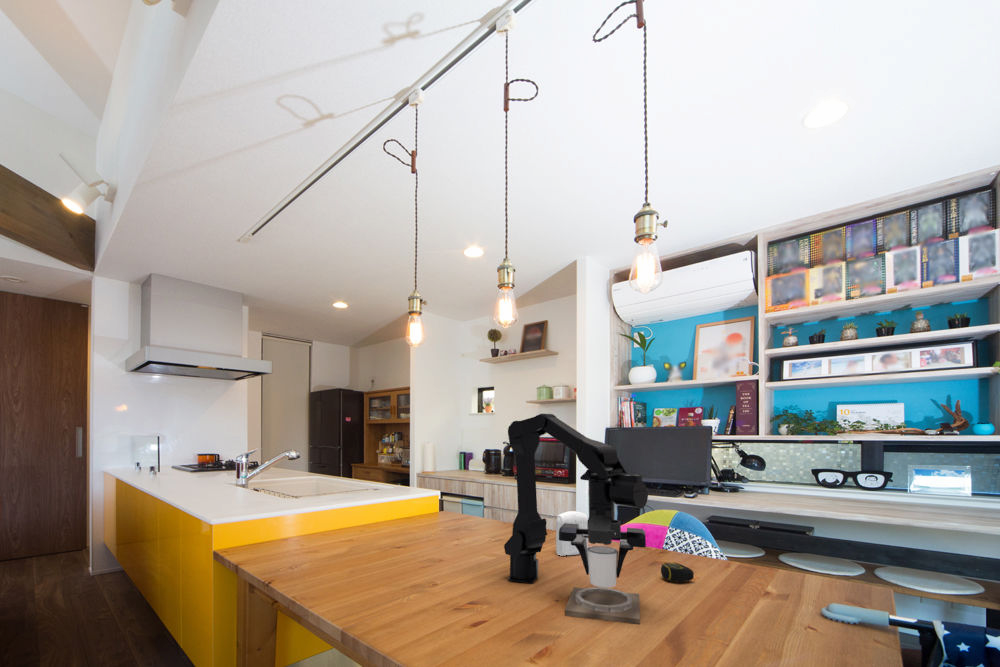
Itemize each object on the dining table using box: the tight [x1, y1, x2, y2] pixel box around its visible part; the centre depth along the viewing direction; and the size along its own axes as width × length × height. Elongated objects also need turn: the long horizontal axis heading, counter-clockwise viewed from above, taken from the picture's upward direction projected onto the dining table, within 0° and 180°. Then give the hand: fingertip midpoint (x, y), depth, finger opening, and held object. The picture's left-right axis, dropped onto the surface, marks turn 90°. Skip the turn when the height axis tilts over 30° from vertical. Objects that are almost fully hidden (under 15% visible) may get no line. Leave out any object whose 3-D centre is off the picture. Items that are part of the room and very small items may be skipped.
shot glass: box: [587, 545, 619, 588], centre depth 109 cm, size 7×7×7 cm
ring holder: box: [564, 586, 641, 625], centre depth 107 cm, size 15×15×2 cm
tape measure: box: [660, 562, 694, 583], centre depth 126 cm, size 7×7×4 cm
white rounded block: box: [555, 510, 589, 557], centre depth 150 cm, size 10×4×12 cm, turn 114°
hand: (602, 575), depth 109 cm, fingers closed on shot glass, 6 cm apart
